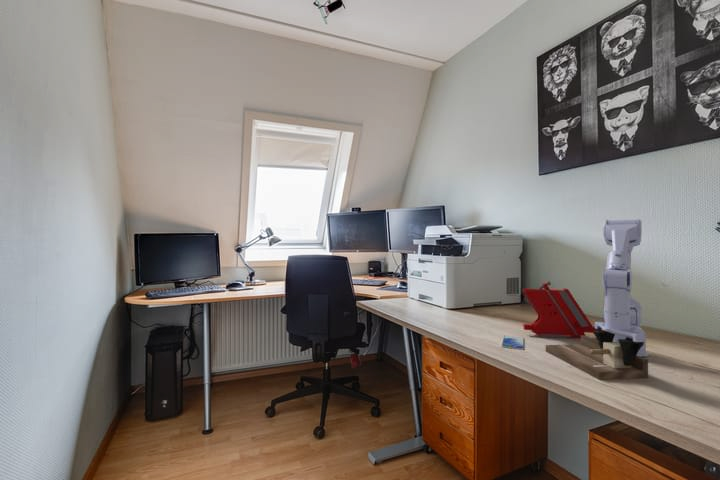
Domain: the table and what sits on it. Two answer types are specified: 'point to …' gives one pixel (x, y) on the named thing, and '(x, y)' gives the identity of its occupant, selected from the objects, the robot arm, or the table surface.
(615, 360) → the beige block with rod
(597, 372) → the board
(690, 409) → the table surface
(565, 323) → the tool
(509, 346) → the smartphone
